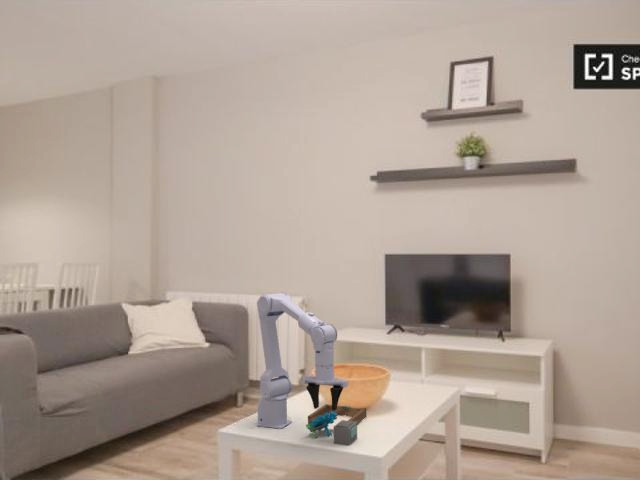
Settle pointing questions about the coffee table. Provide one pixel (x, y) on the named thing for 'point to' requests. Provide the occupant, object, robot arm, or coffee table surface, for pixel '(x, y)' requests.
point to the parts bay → (340, 413)
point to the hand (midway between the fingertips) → (325, 408)
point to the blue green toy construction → (322, 423)
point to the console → (345, 432)
